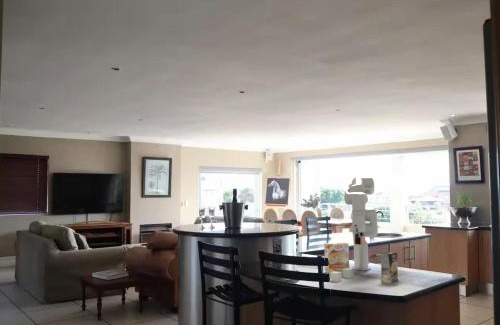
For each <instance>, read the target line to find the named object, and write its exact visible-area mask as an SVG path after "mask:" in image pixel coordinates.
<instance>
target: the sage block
mask: <svg viewBox="0 0 500 325" xmlns="http://www.w3.org/2000/svg"><path fill="white" fill-rule="evenodd" d="M341 274H342V278H349V279H351V278H354V269H352V268H350V267H349V268H344V269H342V273H341Z"/></svg>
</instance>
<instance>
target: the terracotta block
mask: <svg viewBox="0 0 500 325" xmlns="http://www.w3.org/2000/svg"><path fill="white" fill-rule="evenodd" d="M365 240H366V237H365V236H360V241H361V244H355V236H354V241H353V246H354V245H365Z"/></svg>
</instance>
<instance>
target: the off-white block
mask: <svg viewBox="0 0 500 325" xmlns="http://www.w3.org/2000/svg"><path fill="white" fill-rule="evenodd" d="M329 276H330V278H329V279H330V282H337V283H339V282H341V281H343V280H342V278H343V274H342V273H341V272H331V273H330V274H329Z"/></svg>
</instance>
